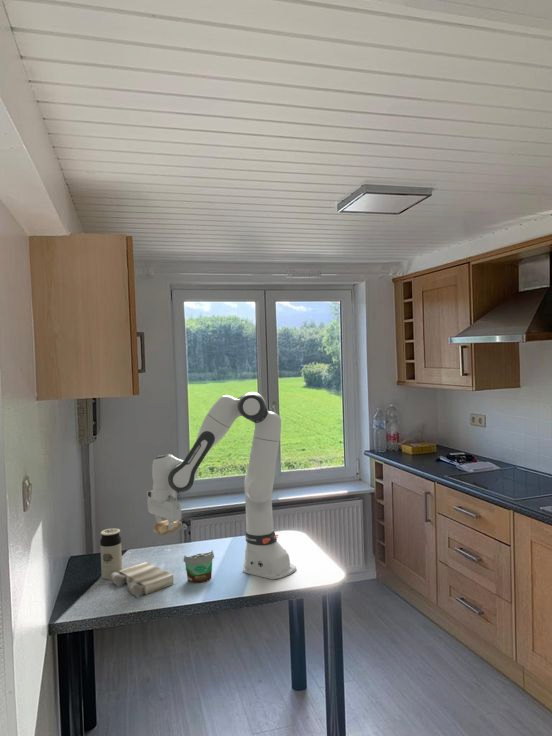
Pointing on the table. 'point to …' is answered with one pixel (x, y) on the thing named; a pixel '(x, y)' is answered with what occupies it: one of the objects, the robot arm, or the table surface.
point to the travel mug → (110, 552)
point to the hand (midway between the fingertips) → (164, 527)
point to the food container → (199, 567)
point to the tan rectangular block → (162, 527)
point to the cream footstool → (142, 578)
